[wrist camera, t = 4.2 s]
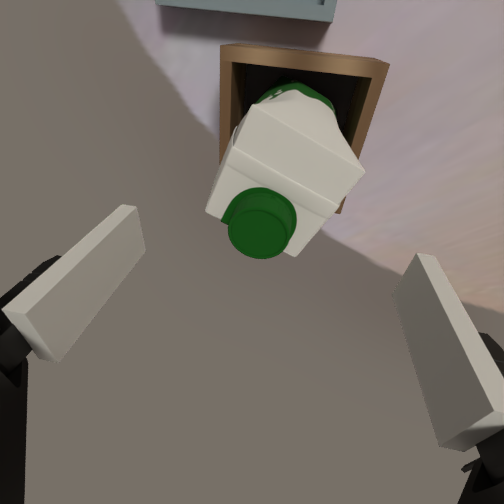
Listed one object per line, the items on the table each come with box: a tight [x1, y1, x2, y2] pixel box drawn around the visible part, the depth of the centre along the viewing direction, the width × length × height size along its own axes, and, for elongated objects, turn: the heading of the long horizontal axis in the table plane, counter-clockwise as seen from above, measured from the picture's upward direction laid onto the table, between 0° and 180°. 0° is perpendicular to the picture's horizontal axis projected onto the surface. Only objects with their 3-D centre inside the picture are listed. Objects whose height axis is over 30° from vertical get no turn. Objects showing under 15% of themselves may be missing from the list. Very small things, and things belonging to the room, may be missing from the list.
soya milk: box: [205, 75, 365, 259], centre depth 24 cm, size 9×9×20 cm
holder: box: [220, 43, 390, 214], centre depth 29 cm, size 14×14×7 cm
